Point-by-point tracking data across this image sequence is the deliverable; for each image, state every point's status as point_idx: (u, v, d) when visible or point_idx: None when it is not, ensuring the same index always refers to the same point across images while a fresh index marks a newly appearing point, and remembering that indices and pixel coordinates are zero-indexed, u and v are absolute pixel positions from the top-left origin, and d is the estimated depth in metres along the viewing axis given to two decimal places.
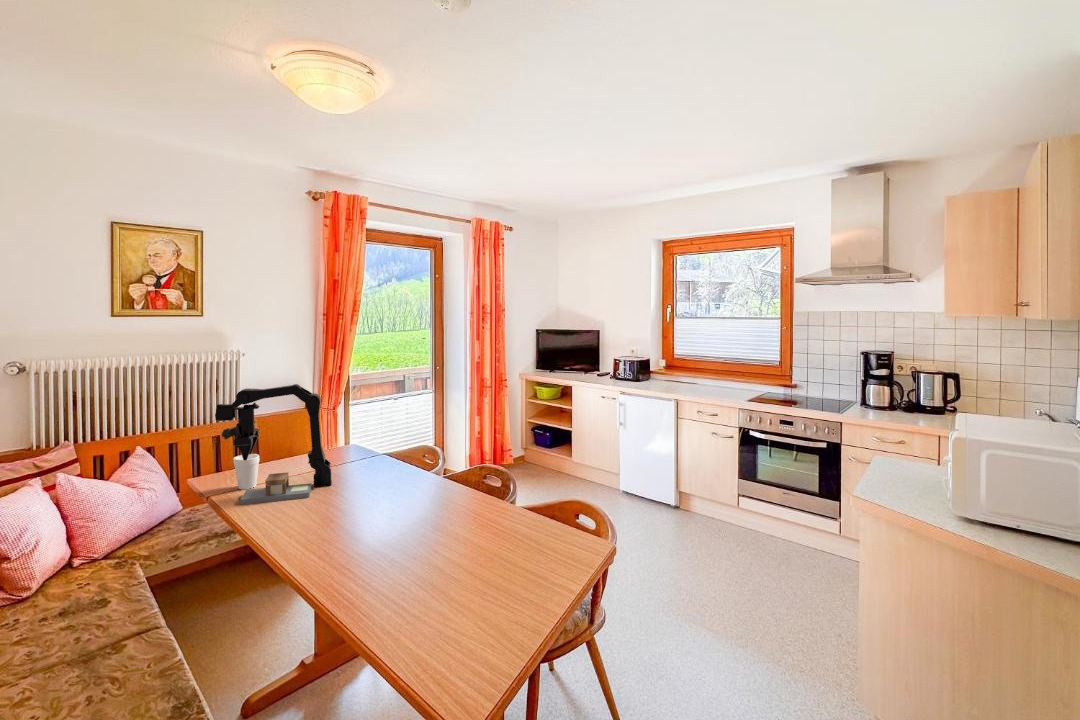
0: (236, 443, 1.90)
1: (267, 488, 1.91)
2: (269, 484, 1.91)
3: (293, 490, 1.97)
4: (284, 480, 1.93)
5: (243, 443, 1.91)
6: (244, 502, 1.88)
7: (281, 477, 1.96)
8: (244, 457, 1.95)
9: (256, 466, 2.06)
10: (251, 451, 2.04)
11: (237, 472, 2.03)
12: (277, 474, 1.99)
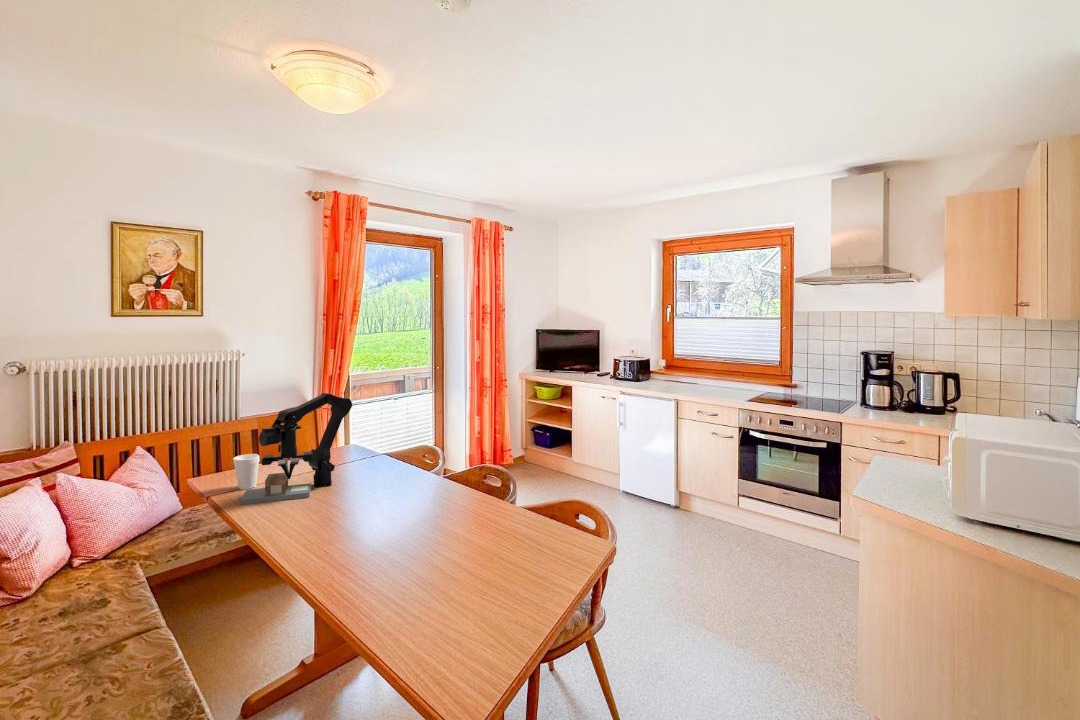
0: None
1: (266, 488, 1.91)
2: (268, 484, 1.91)
3: (293, 490, 1.97)
4: (283, 480, 1.93)
5: None
6: (244, 502, 1.88)
7: (280, 477, 1.96)
8: None
9: (256, 466, 2.06)
10: (288, 476, 1.97)
11: (237, 472, 2.03)
12: (276, 474, 1.99)
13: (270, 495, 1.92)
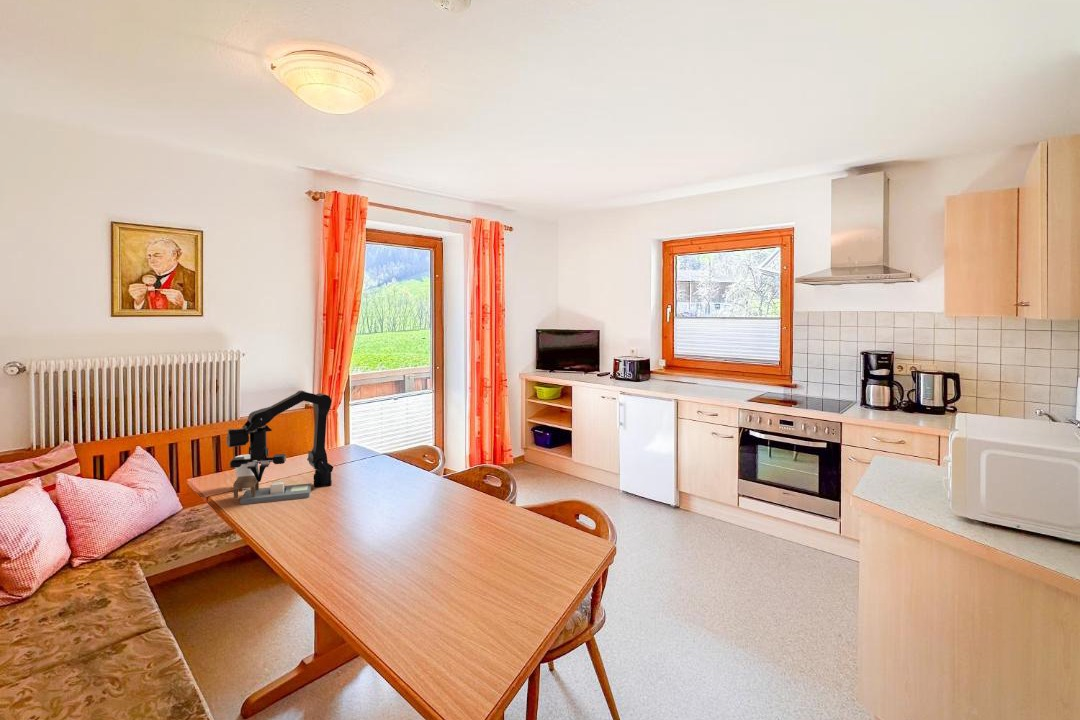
0: None
1: (235, 491, 1.87)
2: (237, 487, 1.88)
3: (293, 490, 1.97)
4: (253, 483, 1.89)
5: None
6: (244, 502, 1.88)
7: (250, 479, 1.92)
8: None
9: None
10: None
11: (237, 472, 2.03)
12: (246, 477, 1.95)
13: (270, 495, 1.92)
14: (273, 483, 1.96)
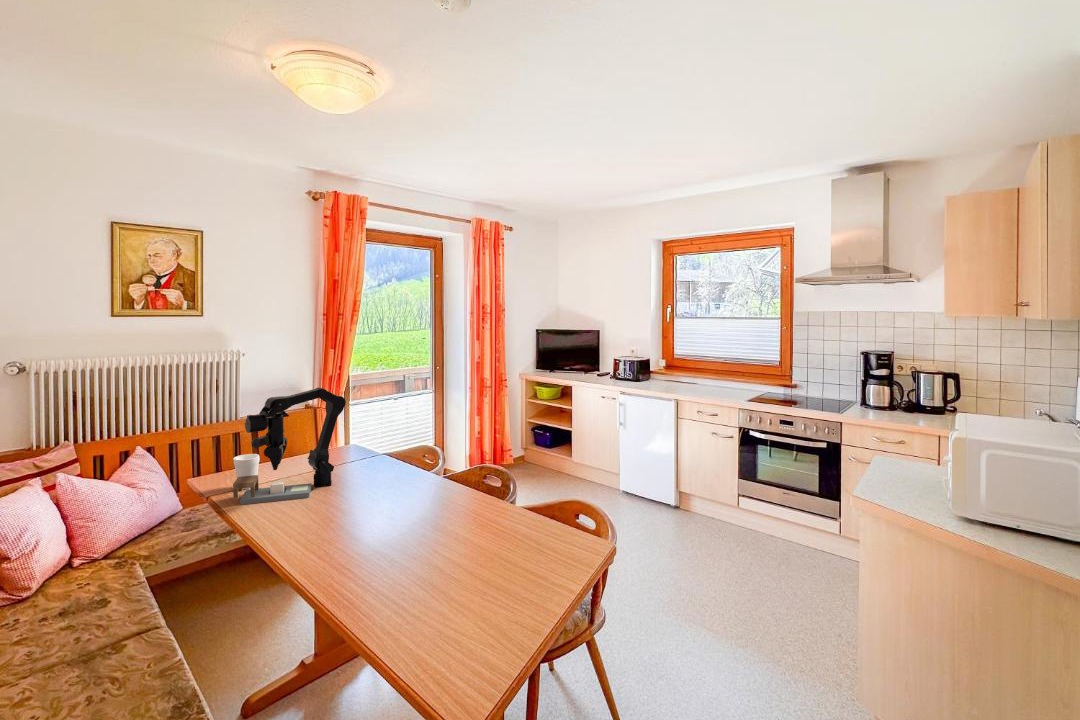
0: (267, 453, 1.86)
1: (235, 491, 1.87)
2: (236, 487, 1.87)
3: (293, 490, 1.97)
4: (252, 483, 1.89)
5: (274, 453, 1.87)
6: (244, 502, 1.88)
7: (249, 479, 1.92)
8: (274, 467, 1.91)
9: (256, 466, 2.06)
10: (280, 461, 2.00)
11: (237, 472, 2.03)
12: (246, 477, 1.95)
13: (270, 495, 1.92)
14: (273, 483, 1.96)
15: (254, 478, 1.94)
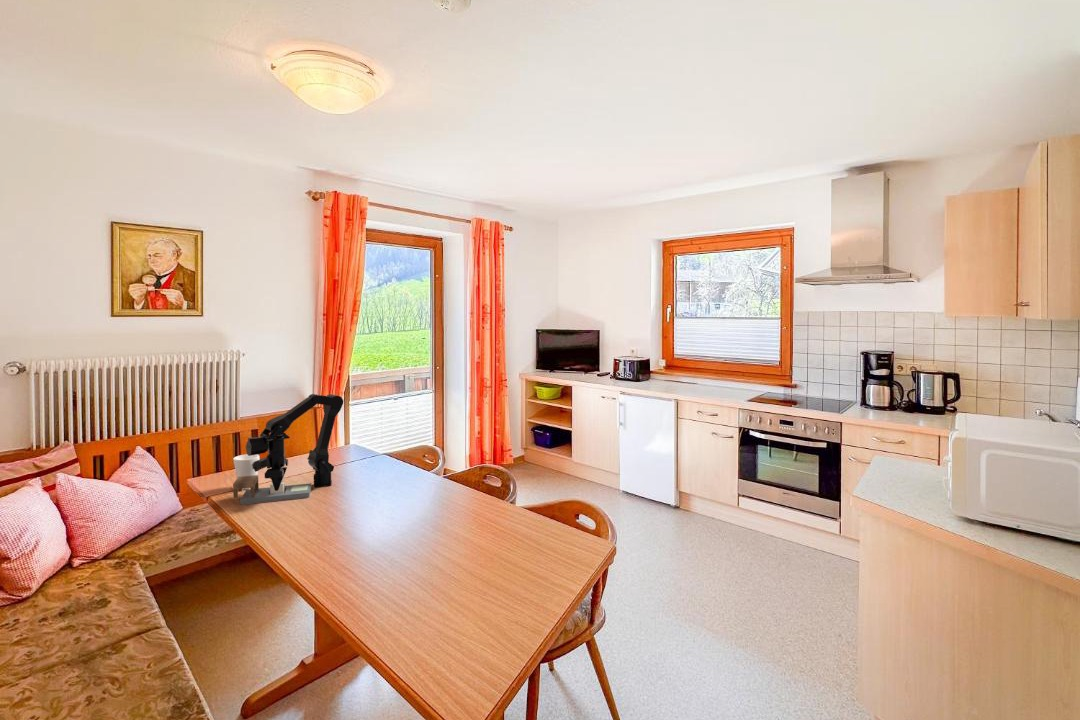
0: (267, 476, 1.87)
1: (235, 491, 1.87)
2: (236, 487, 1.87)
3: (293, 490, 1.97)
4: (252, 483, 1.89)
5: (274, 476, 1.88)
6: (244, 502, 1.88)
7: (249, 479, 1.92)
8: (276, 488, 1.94)
9: None
10: None
11: (237, 472, 2.03)
12: (246, 477, 1.95)
13: (270, 495, 1.92)
14: None
15: (254, 478, 1.94)
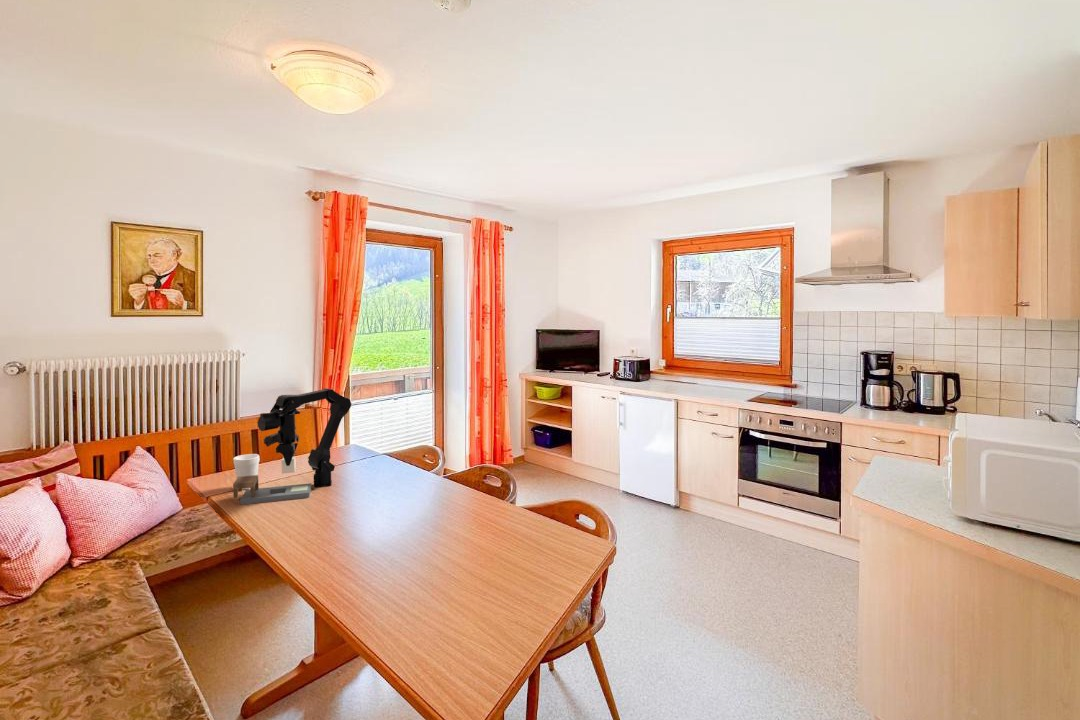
0: (279, 450, 1.88)
1: (235, 491, 1.87)
2: (236, 487, 1.87)
3: (293, 490, 1.97)
4: (252, 483, 1.89)
5: (286, 450, 1.89)
6: (244, 502, 1.88)
7: (249, 479, 1.92)
8: (287, 463, 1.95)
9: (256, 466, 2.06)
10: None
11: (237, 472, 2.03)
12: (246, 477, 1.95)
13: (270, 495, 1.92)
14: None
15: (254, 478, 1.94)
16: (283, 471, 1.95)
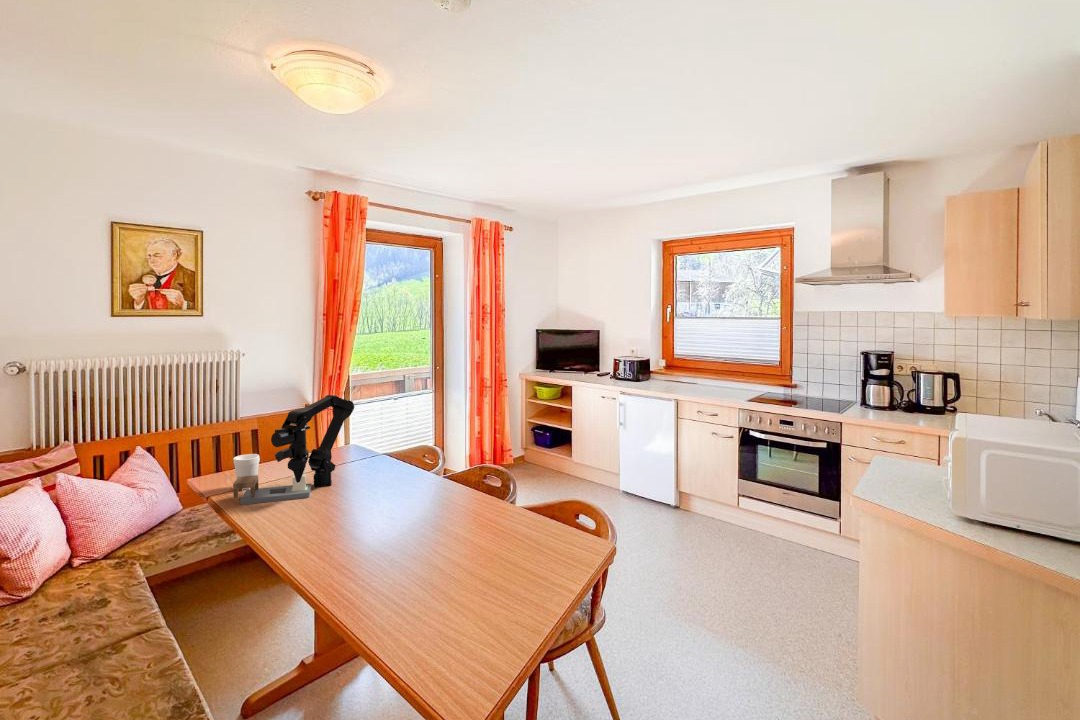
0: (291, 466, 1.90)
1: (235, 491, 1.87)
2: (236, 487, 1.87)
3: None
4: (252, 483, 1.89)
5: (297, 466, 1.90)
6: (244, 502, 1.88)
7: (249, 479, 1.92)
8: (297, 479, 1.95)
9: (256, 466, 2.06)
10: None
11: (237, 472, 2.03)
12: (246, 477, 1.95)
13: (270, 495, 1.92)
14: None
15: (254, 478, 1.94)
16: (294, 488, 1.97)
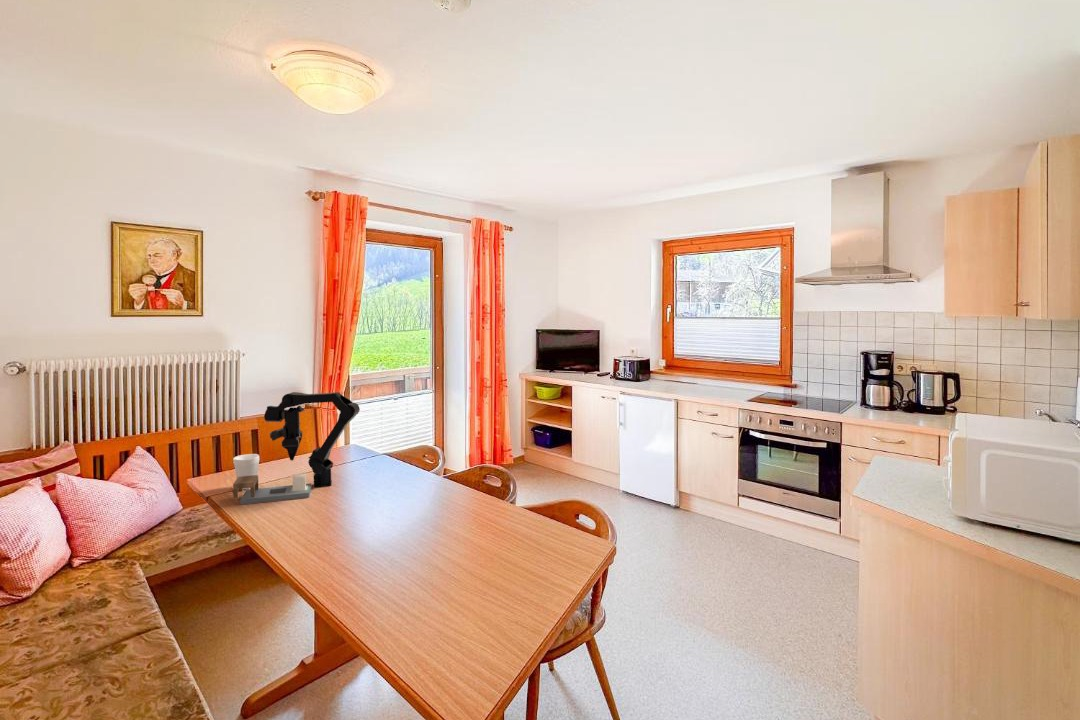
0: (284, 444, 2.00)
1: (235, 491, 1.87)
2: (236, 487, 1.87)
3: None
4: (252, 483, 1.89)
5: (291, 444, 2.01)
6: (244, 502, 1.88)
7: (249, 479, 1.92)
8: (291, 457, 2.05)
9: (256, 466, 2.06)
10: (295, 452, 2.14)
11: (237, 472, 2.03)
12: (246, 477, 1.95)
13: (270, 495, 1.92)
14: (295, 475, 1.99)
15: (254, 478, 1.94)
16: (294, 488, 1.97)
